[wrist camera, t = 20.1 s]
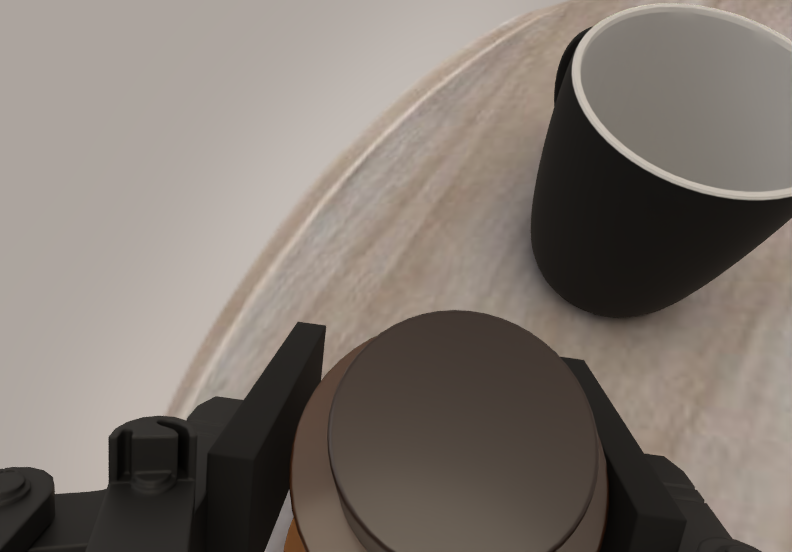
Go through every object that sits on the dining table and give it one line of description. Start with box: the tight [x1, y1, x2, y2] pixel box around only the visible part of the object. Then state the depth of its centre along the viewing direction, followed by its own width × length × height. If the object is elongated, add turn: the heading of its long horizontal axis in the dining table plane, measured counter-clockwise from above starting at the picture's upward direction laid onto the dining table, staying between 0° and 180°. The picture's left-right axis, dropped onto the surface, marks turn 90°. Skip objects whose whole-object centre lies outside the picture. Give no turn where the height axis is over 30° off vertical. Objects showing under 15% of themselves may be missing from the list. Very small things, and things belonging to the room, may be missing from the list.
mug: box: [531, 3, 792, 317], centre depth 24 cm, size 12×9×10 cm
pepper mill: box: [289, 310, 609, 552], centre depth 15 cm, size 6×6×14 cm
